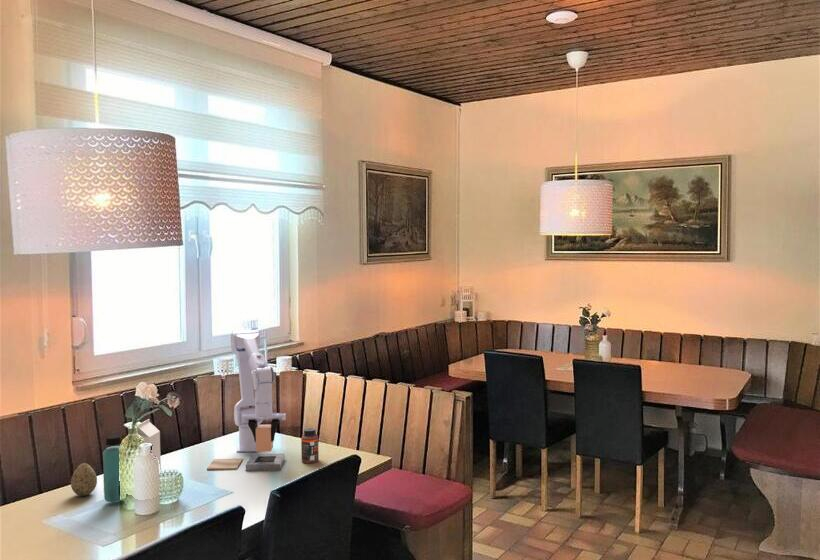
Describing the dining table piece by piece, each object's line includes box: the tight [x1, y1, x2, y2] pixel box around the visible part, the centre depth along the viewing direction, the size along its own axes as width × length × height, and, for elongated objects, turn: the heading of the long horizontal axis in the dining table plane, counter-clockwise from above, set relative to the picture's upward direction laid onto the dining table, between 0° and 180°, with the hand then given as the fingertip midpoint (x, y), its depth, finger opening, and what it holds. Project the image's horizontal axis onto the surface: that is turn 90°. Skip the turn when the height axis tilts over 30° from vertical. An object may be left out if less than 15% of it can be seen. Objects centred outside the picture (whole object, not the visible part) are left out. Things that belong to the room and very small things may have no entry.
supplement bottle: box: [300, 427, 320, 464], centre depth 235 cm, size 6×6×11 cm
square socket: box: [245, 453, 286, 472], centre depth 231 cm, size 12×12×2 cm
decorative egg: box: [70, 462, 98, 497], centre depth 204 cm, size 7×7×10 cm
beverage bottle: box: [102, 434, 122, 503], centre depth 198 cm, size 6×7×20 cm
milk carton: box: [138, 418, 162, 471], centre depth 218 cm, size 7×7×19 cm
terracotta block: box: [255, 423, 274, 453], centre depth 231 cm, size 5×5×8 cm
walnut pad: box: [206, 458, 244, 471], centre depth 231 cm, size 10×10×1 cm
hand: (264, 441), depth 231 cm, fingers closed on terracotta block, 5 cm apart
